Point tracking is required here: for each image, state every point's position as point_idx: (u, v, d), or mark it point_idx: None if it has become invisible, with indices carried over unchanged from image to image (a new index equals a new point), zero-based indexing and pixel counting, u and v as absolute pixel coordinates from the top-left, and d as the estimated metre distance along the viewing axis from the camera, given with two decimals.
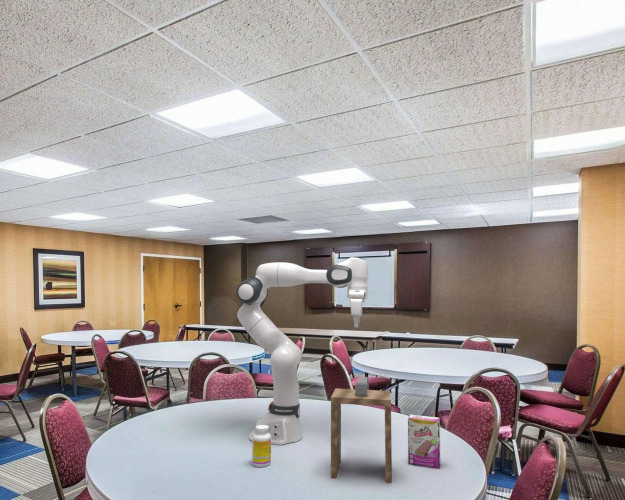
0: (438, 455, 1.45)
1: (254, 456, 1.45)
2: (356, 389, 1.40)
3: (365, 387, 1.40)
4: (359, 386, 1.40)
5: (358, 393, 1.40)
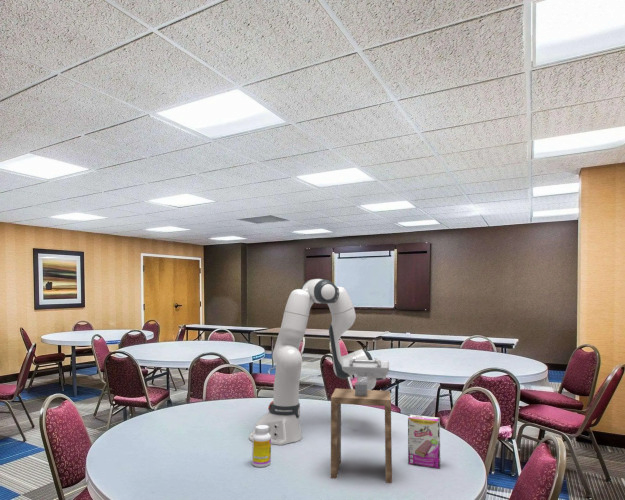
0: (438, 455, 1.45)
1: (254, 456, 1.45)
2: (356, 389, 1.40)
3: (365, 387, 1.40)
4: (359, 386, 1.40)
5: (358, 393, 1.40)
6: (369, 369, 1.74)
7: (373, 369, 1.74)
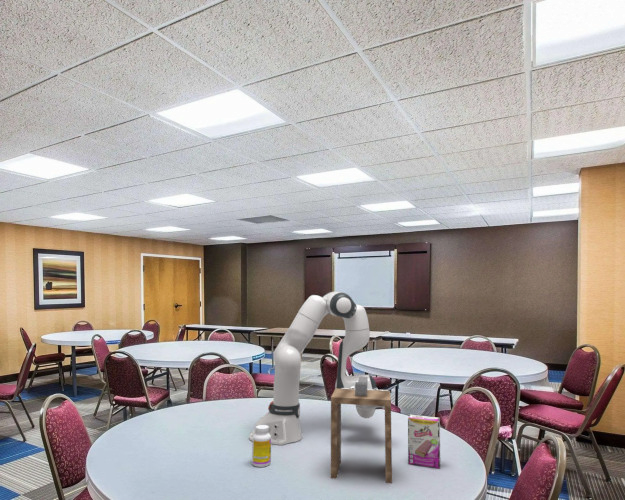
0: (438, 455, 1.45)
1: (254, 456, 1.45)
2: (356, 389, 1.40)
3: (365, 387, 1.40)
4: (359, 386, 1.40)
5: (358, 393, 1.40)
6: None
7: None
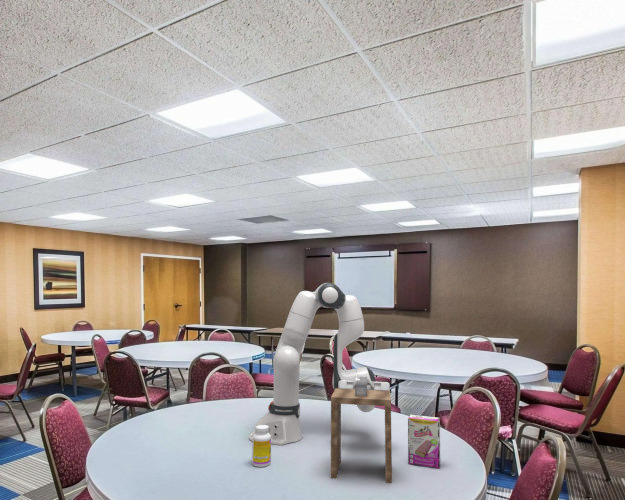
0: (438, 455, 1.45)
1: (254, 456, 1.45)
2: (356, 389, 1.40)
3: (365, 387, 1.40)
4: (359, 386, 1.40)
5: (358, 393, 1.40)
6: None
7: None
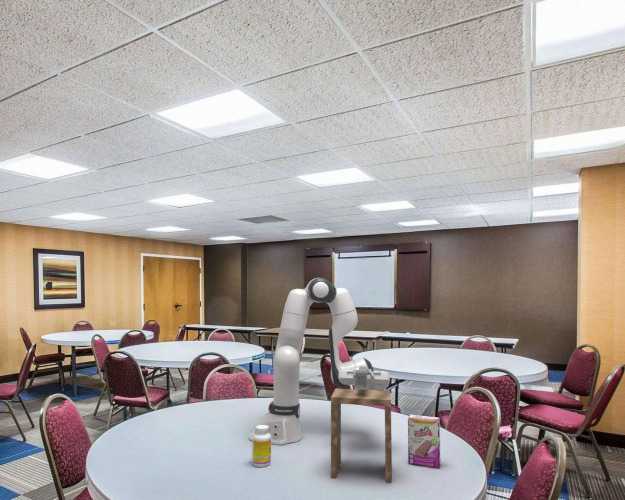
0: (438, 455, 1.45)
1: (254, 456, 1.45)
2: (356, 377, 1.41)
3: (365, 375, 1.41)
4: (359, 374, 1.41)
5: (358, 382, 1.41)
6: (368, 381, 1.61)
7: (372, 381, 1.60)
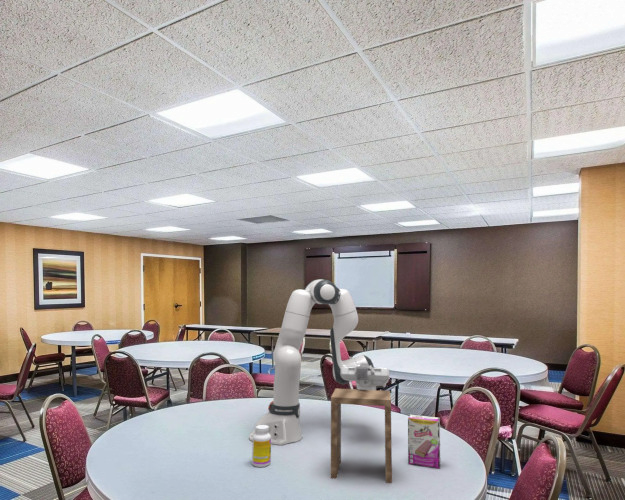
0: (438, 455, 1.45)
1: (254, 456, 1.45)
2: (357, 373, 1.49)
3: (366, 371, 1.48)
4: (360, 370, 1.49)
5: (359, 377, 1.48)
6: (369, 377, 1.68)
7: (373, 377, 1.68)
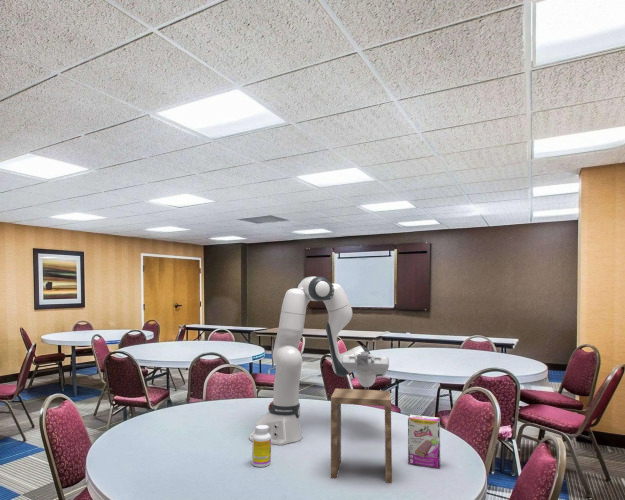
0: (438, 455, 1.45)
1: (254, 456, 1.45)
2: (358, 360, 1.53)
3: (366, 358, 1.53)
4: (361, 357, 1.53)
5: (359, 364, 1.53)
6: (369, 365, 1.73)
7: (373, 365, 1.72)
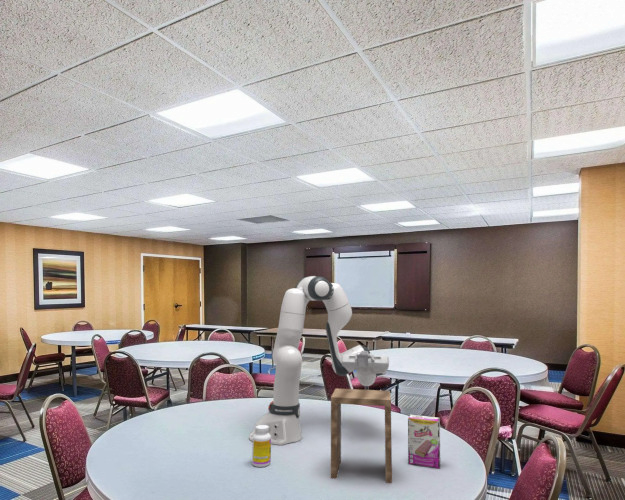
0: (438, 455, 1.45)
1: (254, 456, 1.45)
2: (358, 359, 1.53)
3: (366, 357, 1.53)
4: (361, 356, 1.53)
5: (359, 363, 1.53)
6: (369, 364, 1.73)
7: (373, 364, 1.72)
